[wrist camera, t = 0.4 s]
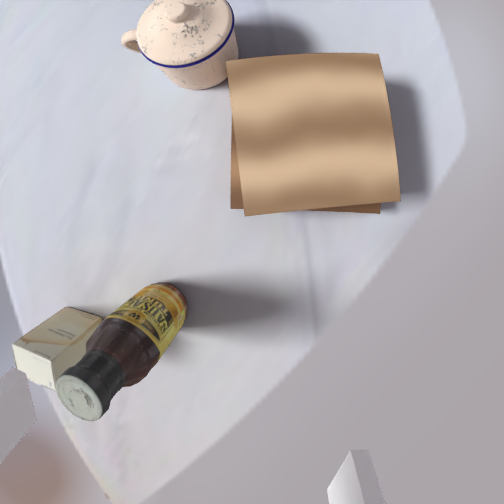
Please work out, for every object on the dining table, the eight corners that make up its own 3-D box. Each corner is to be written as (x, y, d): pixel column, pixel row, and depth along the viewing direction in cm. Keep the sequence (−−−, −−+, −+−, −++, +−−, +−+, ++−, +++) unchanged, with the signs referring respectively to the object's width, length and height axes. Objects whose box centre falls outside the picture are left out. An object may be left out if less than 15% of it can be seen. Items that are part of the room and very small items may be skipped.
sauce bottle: (196, 292, 37) (134, 393, 17) (180, 336, 38) (120, 449, 19) (145, 270, 37) (47, 346, 17) (132, 315, 38) (45, 408, 18)
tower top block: (230, 75, 29) (225, 61, 25) (366, 67, 28) (378, 53, 24) (247, 212, 31) (244, 216, 28) (385, 198, 31) (400, 201, 27)
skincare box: (103, 316, 38) (53, 360, 26) (103, 346, 39) (58, 394, 27) (64, 305, 38) (10, 342, 26) (66, 333, 39) (16, 375, 27)
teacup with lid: (245, 26, 31) (238, -30, 19) (235, 95, 32) (221, 55, 21) (148, 26, 31) (110, -20, 19) (133, 92, 33) (84, 61, 21)
